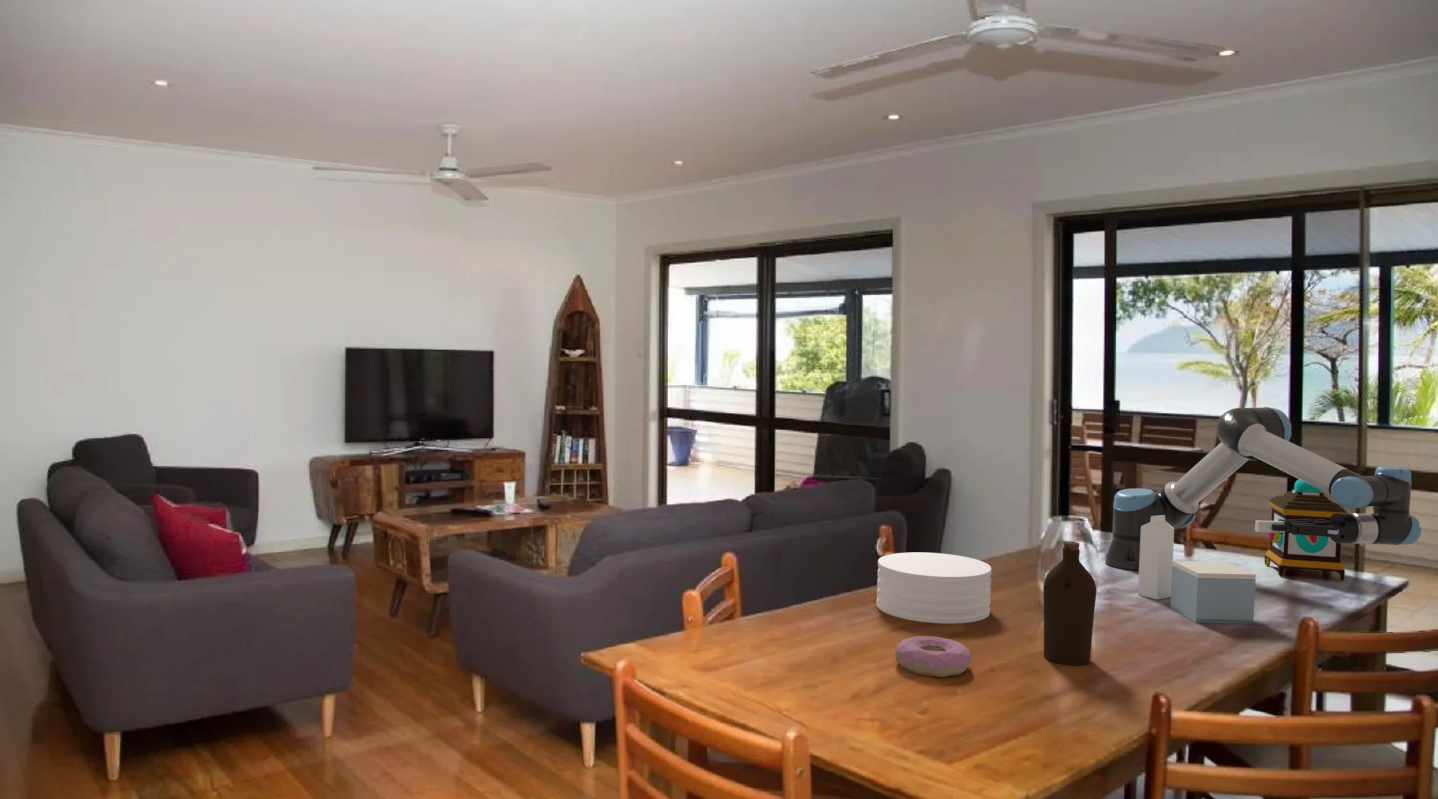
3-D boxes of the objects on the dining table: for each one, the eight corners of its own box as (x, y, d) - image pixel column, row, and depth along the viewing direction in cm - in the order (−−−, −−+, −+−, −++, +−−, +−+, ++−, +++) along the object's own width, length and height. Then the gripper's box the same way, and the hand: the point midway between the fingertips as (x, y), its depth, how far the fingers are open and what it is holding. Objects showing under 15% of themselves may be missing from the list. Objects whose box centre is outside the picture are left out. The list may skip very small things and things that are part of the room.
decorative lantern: (1329, 569, 307) (1334, 473, 305) (1351, 583, 288) (1357, 481, 286) (1258, 564, 312) (1262, 469, 311) (1275, 577, 293) (1280, 477, 291)
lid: (1226, 566, 254) (1226, 561, 254) (1255, 579, 240) (1255, 574, 240) (1172, 565, 255) (1172, 560, 255) (1197, 578, 241) (1198, 573, 241)
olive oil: (1102, 666, 206) (1107, 547, 205) (1053, 666, 205) (1058, 547, 203) (1079, 650, 216) (1083, 537, 215) (1032, 651, 215) (1037, 537, 214)
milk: (1137, 595, 268) (1140, 514, 267) (1152, 592, 271) (1155, 513, 270) (1157, 600, 263) (1160, 518, 262) (1171, 597, 266) (1174, 516, 265)
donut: (879, 666, 203) (880, 642, 203) (921, 651, 214) (922, 628, 214) (944, 686, 192) (945, 660, 192) (985, 669, 203) (986, 645, 203)
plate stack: (861, 613, 244) (862, 567, 243) (896, 589, 269) (897, 548, 268) (974, 630, 231) (976, 582, 230) (1000, 604, 256) (1002, 560, 255)
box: (1224, 609, 255) (1226, 566, 254) (1253, 624, 241) (1255, 579, 240) (1170, 607, 255) (1172, 565, 255) (1195, 622, 241) (1197, 578, 241)
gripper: (1367, 548, 241) (1270, 546, 241) (1334, 538, 254) (1242, 536, 254) (1368, 518, 241) (1271, 515, 241) (1336, 509, 254) (1243, 507, 254)
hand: (1256, 526), depth 248 cm, fingers closed
